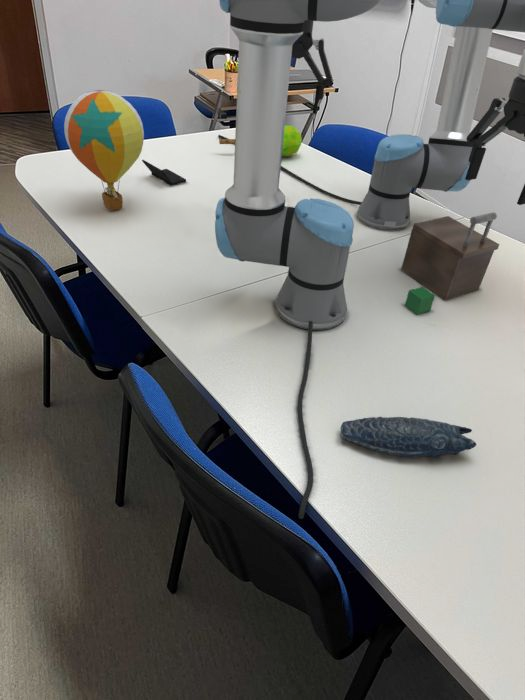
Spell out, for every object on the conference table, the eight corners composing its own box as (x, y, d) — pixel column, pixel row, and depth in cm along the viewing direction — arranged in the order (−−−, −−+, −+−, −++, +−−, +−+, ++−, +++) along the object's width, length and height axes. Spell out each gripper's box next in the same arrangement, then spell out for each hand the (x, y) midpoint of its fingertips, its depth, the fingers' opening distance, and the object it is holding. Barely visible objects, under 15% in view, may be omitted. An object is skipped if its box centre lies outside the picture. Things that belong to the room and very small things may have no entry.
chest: (478, 289, 125) (495, 248, 118) (444, 300, 120) (459, 257, 113) (434, 261, 135) (446, 221, 128) (400, 269, 130) (412, 228, 123)
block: (430, 310, 116) (435, 295, 114) (416, 314, 115) (421, 299, 112) (418, 301, 119) (422, 286, 116) (404, 305, 117) (409, 290, 115)
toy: (64, 203, 145) (44, 85, 127) (127, 189, 156) (117, 79, 137) (97, 229, 134) (80, 105, 116) (162, 213, 145) (156, 96, 126)
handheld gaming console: (190, 175, 164) (173, 153, 156) (179, 193, 163) (161, 172, 155) (166, 170, 170) (147, 148, 162) (155, 188, 169) (136, 167, 161)
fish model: (474, 470, 81) (484, 449, 78) (339, 453, 82) (344, 431, 79) (465, 439, 86) (475, 417, 83) (339, 423, 87) (344, 401, 84)
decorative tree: (216, 119, 186) (297, 119, 192) (216, 149, 193) (294, 148, 198) (222, 134, 173) (309, 133, 178) (222, 165, 179) (306, 163, 185)
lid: (497, 249, 118) (511, 215, 113) (462, 259, 113) (474, 223, 108) (446, 220, 128) (457, 188, 123) (412, 228, 123) (421, 195, 118)
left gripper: (351, 16, 123) (337, 111, 137) (248, 5, 125) (244, 100, 139) (351, 20, 118) (336, 118, 131) (243, 8, 119) (238, 107, 133)
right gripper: (612, 94, 89) (558, 211, 102) (495, 63, 105) (462, 168, 118) (586, 97, 85) (534, 217, 99) (470, 64, 101) (439, 172, 115)
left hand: (288, 109), depth 135 cm, fingers open, 13 cm apart
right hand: (495, 190), depth 108 cm, fingers open, 13 cm apart
